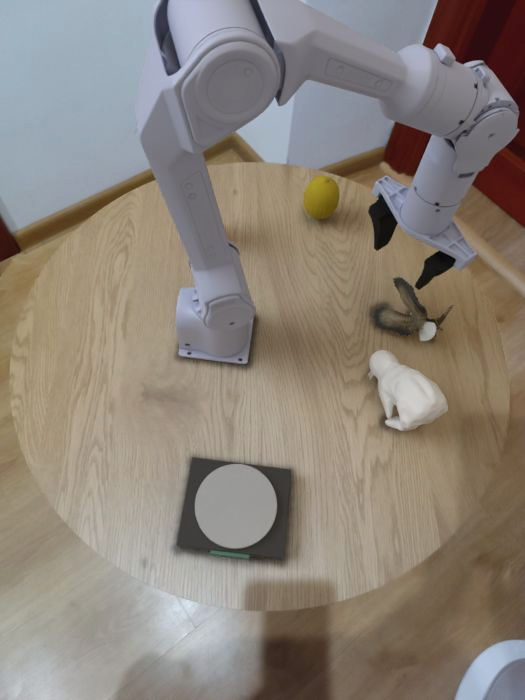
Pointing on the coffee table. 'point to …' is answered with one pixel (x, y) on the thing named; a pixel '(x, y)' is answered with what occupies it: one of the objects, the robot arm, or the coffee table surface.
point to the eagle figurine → (405, 322)
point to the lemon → (321, 197)
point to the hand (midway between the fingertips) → (400, 265)
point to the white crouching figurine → (405, 392)
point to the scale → (235, 509)
